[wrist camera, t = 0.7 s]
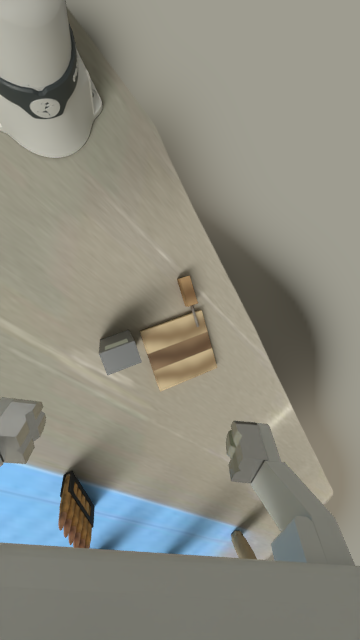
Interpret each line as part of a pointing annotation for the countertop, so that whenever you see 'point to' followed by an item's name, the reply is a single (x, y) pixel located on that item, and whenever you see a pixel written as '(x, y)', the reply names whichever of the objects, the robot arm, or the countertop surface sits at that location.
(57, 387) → the countertop surface
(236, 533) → the handle
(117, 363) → the block
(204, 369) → the plywood board
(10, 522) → the countertop surface
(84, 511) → the ammunition clip
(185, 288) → the awl
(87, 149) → the countertop surface
